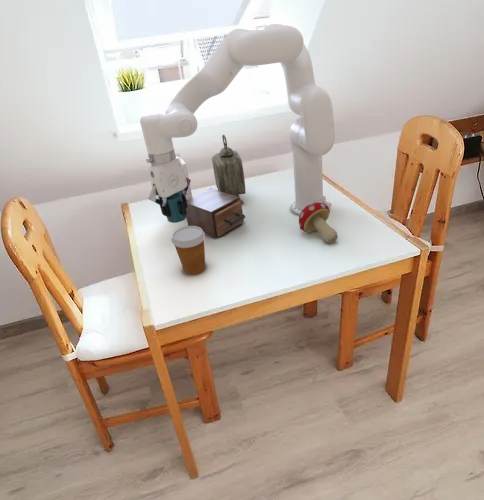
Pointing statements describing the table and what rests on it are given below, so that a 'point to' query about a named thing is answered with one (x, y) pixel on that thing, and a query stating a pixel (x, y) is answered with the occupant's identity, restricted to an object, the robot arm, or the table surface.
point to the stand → (207, 209)
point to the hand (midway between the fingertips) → (175, 210)
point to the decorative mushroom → (317, 221)
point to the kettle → (176, 208)
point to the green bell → (229, 171)
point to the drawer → (228, 217)
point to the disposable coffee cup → (190, 248)
